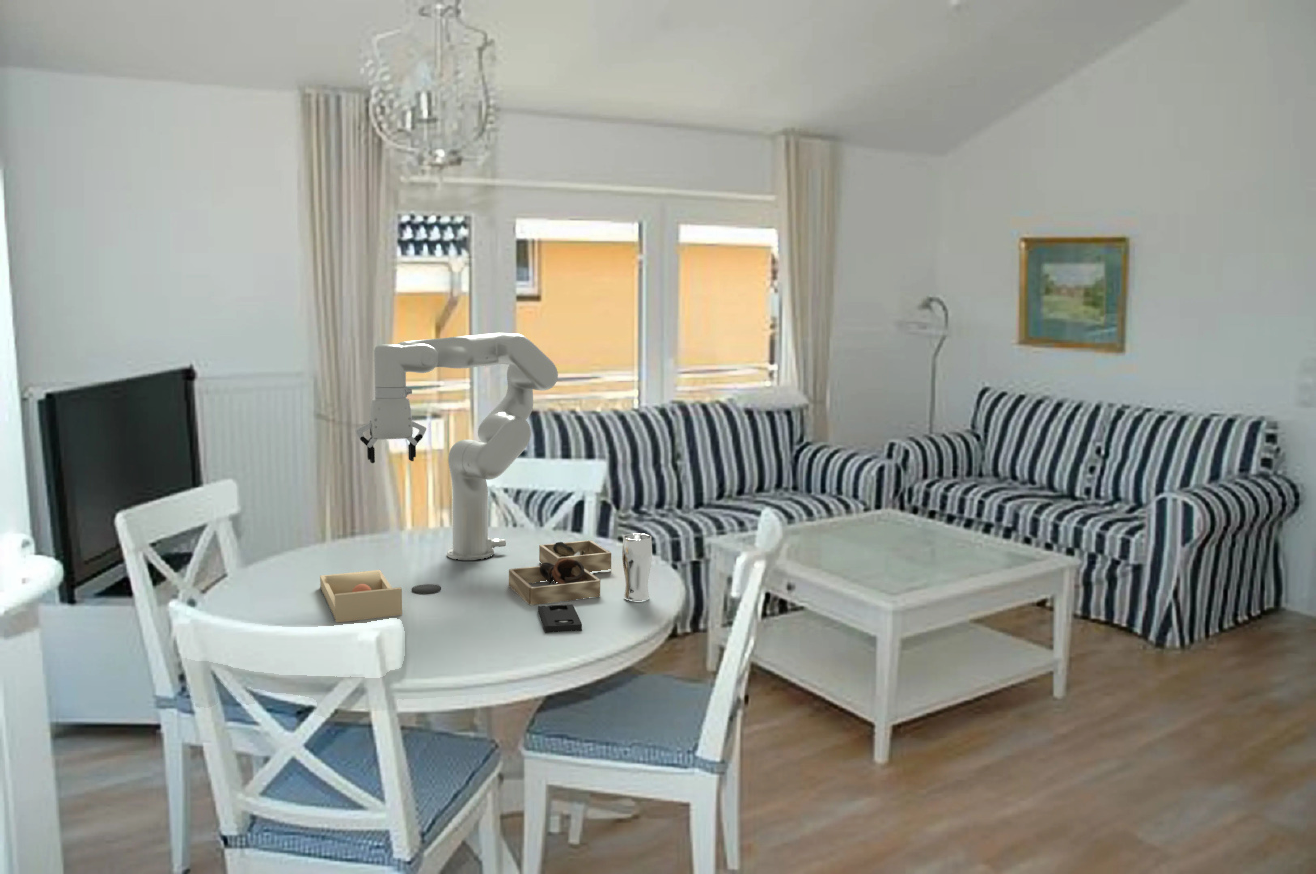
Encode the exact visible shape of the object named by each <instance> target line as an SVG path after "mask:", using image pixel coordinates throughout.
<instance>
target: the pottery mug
mask: <svg viewBox="0 0 1316 874" xmlns="http://www.w3.org/2000/svg"><path fill="white" fill-rule="evenodd" d="M539 566H540V568H539V570H540V573H541V575H542V576H543V577H544V578H545V579H546V580H547V581H548V582H547V583H548V585H552V583H553V582H554V583H556V582H558V583H557V584H566V583H575V582H583V581H584V580H585V579H587V577H586V575H585V573H584V567H583V565H582V564H581V563H580V562H579V561H577V560H574V559H561V560H559V561H558V562H557V563H556V564H555V565H554V564H551V563H548V562H545V563H542V564H540V565H539ZM576 566H578V567H579V568H580V569H581V573H580V574H579V575H578V576H576V575H574V574H572V573H571V571H572V569H573V568H574V567H576ZM553 578H554V581H553Z"/></svg>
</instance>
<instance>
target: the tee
mask: <svg viewBox="0 0 1316 874" xmlns="http://www.w3.org/2000/svg"><path fill="white" fill-rule="evenodd" d="M441 591H442V586H441V585H438V584H434V583H433V584H432V583H431V584H430V583H425V584H418V585H415V586H413V587H412V586H411V593H412V594H413V593H414V594H418V595H433V594H436V593H439V592H441Z"/></svg>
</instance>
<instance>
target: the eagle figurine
mask: <svg viewBox="0 0 1316 874" xmlns="http://www.w3.org/2000/svg"><path fill="white" fill-rule="evenodd" d="M555 543H556V544H555ZM555 543H553V544H554V547H553V550H554V551H555V553H557V554H559V555H561V556H564V557H566V556H577V555H580V552H579V551H578V552H577V553H576V554H574V550H573V549H572V548H571V547H569V546H567V545H565V544H564V543H565V542H563V541H558V542H555ZM586 550H587V549H585V551H582V552H581V555H585V554H586Z"/></svg>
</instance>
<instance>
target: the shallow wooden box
mask: <svg viewBox="0 0 1316 874" xmlns="http://www.w3.org/2000/svg"><path fill="white" fill-rule="evenodd" d="M540 566H541V565H538V566H537V565H536V566H527V567H517V568H516V567H515V568H510V569H508V587H509V586H510V588H511V589H512V590H513V591H514V592H515V594H517V595H518V596H519V597H520V598H521V599H522V600H523V601H524V602H526V603H527V604H528V605H531V606H535V605H536V606H537V605H538V606H539V605H545V604H555V603H561V602H560V601H564V602H570V601H571V600H572V601H577V600H576V599H581V600H584V599H583V598H589V597H598V598H600V597H601V579H600V578H598V577H597V576H596V575H594V574H591V573H590V572H589V571H587V570H586V569H584V573H585V575H586V577H587V579H585V580H584V581H583V582H575V583H566V584H558V583H557V584H548V585H539V586H532V585H531V584H529V583H532V584H536V583H535V582H540V581H546V579H545V578H544V577H543V576H542V575H541V573H540V570H539V568H540ZM571 573H572V574H574V575H576V576H578V575H579V574H580V573H581V569H580V568H579V567H578V566H576V567H574V568H573V569H572V571H571ZM553 580H554V578H553ZM599 596H600V597H599ZM589 599H590V598H589ZM572 601H571V602H572ZM554 602H555V603H554Z"/></svg>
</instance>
